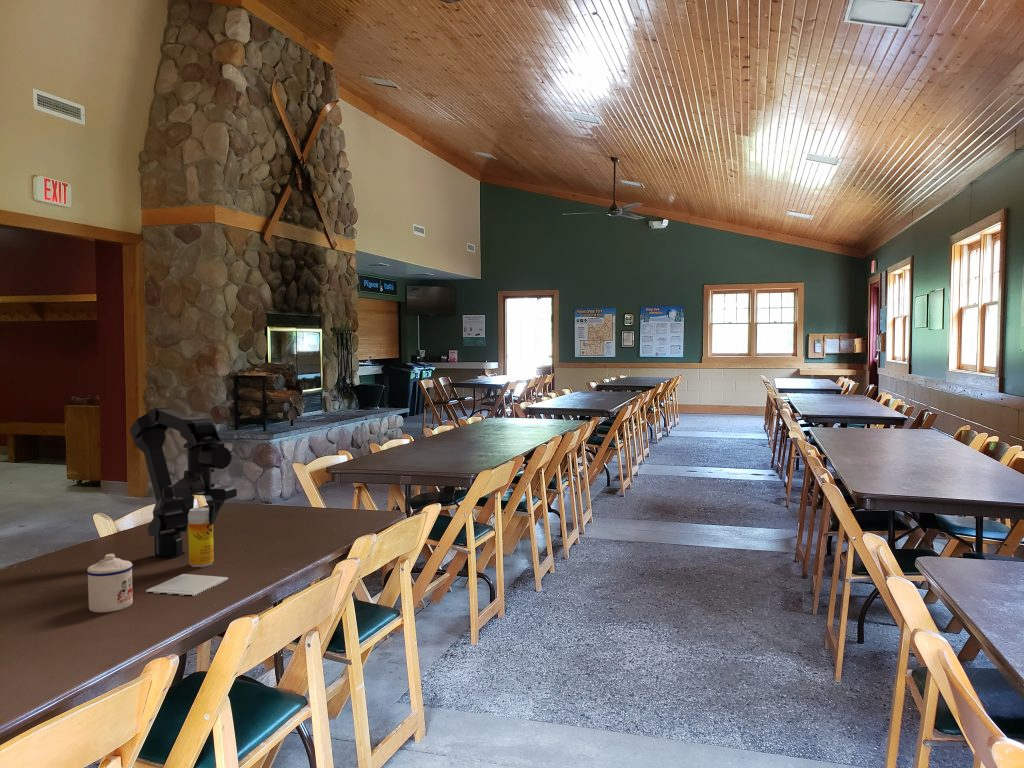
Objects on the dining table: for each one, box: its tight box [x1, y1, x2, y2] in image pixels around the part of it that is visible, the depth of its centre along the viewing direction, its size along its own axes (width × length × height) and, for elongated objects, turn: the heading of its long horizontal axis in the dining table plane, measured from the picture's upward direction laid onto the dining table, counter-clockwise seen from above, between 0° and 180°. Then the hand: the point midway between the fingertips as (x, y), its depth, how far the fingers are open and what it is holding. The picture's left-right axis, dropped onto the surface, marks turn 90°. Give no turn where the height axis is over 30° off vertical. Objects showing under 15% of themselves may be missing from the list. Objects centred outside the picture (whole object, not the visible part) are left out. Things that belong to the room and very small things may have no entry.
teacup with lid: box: [86, 553, 134, 614], centre depth 164 cm, size 12×9×12 cm
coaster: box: [145, 573, 229, 597], centre depth 177 cm, size 13×13×1 cm
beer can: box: [187, 506, 215, 568], centre depth 194 cm, size 6×6×15 cm
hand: (200, 524), depth 194 cm, fingers open, 6 cm apart
